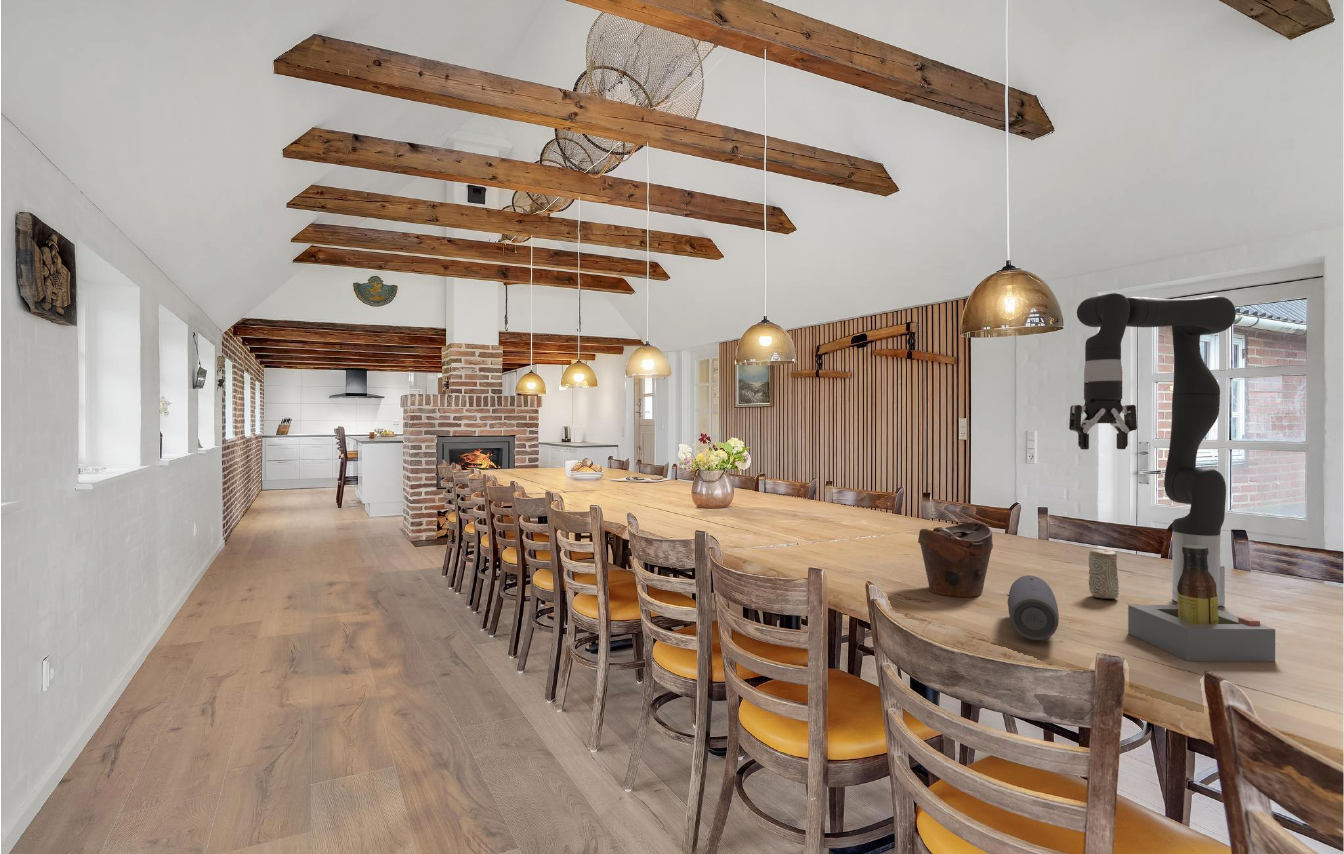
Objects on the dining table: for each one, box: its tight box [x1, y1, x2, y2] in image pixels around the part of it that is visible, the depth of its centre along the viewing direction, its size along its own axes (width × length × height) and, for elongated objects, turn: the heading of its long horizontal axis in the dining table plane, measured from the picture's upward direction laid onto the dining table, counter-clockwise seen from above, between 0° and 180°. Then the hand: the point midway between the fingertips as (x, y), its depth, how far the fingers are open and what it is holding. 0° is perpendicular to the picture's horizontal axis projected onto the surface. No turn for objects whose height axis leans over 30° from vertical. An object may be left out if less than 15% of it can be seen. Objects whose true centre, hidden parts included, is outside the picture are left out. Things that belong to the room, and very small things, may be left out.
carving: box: [1088, 548, 1120, 600], centre depth 164 cm, size 6×8×12 cm
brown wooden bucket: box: [917, 521, 994, 598], centre depth 170 cm, size 18×20×18 cm
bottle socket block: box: [1127, 604, 1276, 663], centre depth 128 cm, size 16×16×7 cm
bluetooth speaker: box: [1007, 574, 1060, 641], centre depth 138 cm, size 23×9×10 cm, turn 152°
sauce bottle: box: [1177, 545, 1219, 624], centre depth 128 cm, size 6×6×20 cm
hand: (1102, 449), depth 152 cm, fingers open, 8 cm apart
